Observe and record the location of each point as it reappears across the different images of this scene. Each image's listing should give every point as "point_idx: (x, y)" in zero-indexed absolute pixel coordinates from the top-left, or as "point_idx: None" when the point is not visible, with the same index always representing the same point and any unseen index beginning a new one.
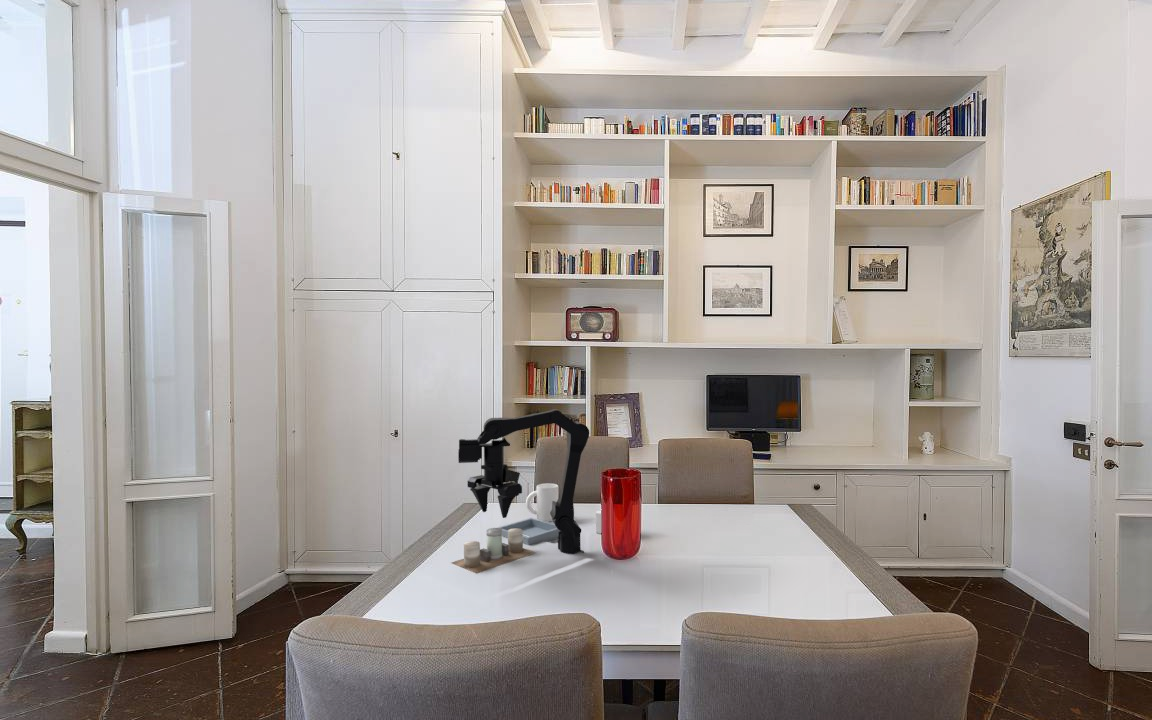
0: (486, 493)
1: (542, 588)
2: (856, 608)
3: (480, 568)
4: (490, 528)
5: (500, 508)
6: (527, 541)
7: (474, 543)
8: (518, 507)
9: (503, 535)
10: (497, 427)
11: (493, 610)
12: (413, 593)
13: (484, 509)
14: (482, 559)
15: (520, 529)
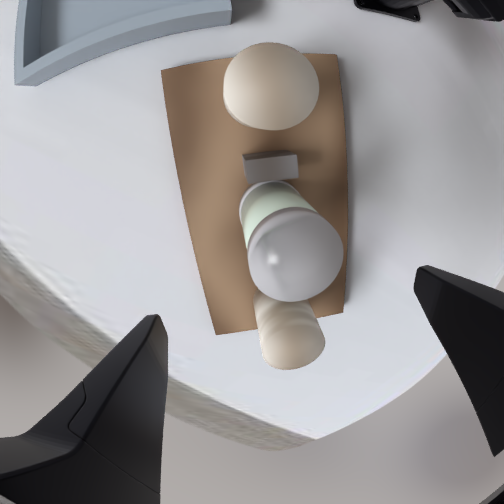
0: (93, 461)
1: (480, 220)
2: None
3: (323, 291)
4: (253, 264)
5: (453, 361)
6: (227, 15)
7: (299, 342)
8: None
9: (66, 63)
10: None
11: None
12: (305, 404)
13: (162, 346)
14: None
15: (276, 50)
